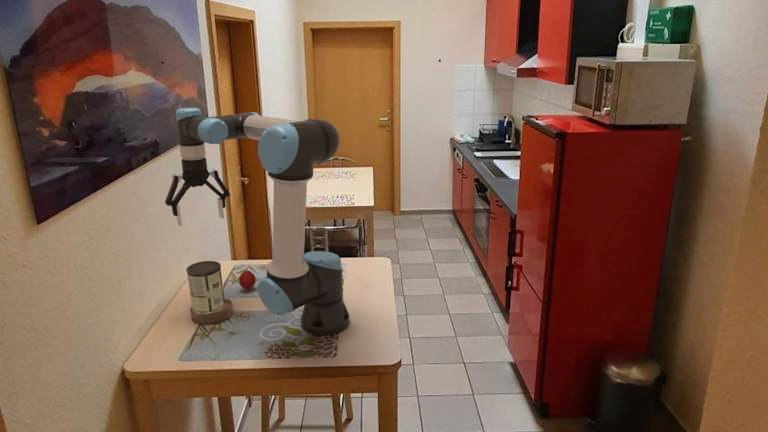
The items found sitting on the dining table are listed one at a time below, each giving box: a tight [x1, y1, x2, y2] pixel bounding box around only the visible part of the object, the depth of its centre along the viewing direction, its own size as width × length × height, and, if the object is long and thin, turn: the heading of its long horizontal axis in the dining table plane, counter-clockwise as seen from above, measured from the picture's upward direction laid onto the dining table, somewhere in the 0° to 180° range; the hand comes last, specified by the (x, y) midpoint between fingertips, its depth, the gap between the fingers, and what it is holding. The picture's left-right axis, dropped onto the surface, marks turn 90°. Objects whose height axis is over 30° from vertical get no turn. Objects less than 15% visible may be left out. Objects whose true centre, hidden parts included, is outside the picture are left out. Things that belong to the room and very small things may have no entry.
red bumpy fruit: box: [238, 268, 257, 291], centre depth 189 cm, size 6×6×8 cm
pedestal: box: [189, 297, 234, 325], centre depth 172 cm, size 13×13×3 cm
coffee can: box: [185, 260, 225, 314], centre depth 169 cm, size 10×10×14 cm
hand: (201, 221), depth 175 cm, fingers open, 13 cm apart
